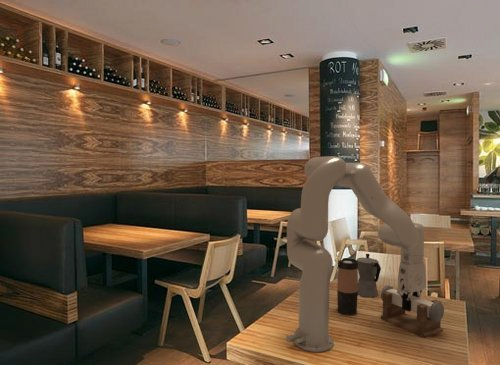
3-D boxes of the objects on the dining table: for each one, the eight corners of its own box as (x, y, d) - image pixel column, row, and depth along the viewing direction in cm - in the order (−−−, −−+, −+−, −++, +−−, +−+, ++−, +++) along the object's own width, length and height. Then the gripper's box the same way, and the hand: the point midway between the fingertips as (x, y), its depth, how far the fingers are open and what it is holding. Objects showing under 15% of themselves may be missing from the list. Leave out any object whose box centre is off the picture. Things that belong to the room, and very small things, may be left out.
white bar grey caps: (443, 320, 127) (444, 301, 126) (432, 324, 123) (432, 304, 123) (392, 300, 144) (392, 284, 144) (380, 303, 141) (381, 287, 141)
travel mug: (358, 316, 141) (359, 263, 140) (337, 314, 143) (338, 262, 142) (356, 308, 149) (357, 258, 148) (336, 307, 150) (337, 257, 149)
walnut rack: (443, 330, 129) (443, 302, 129) (424, 337, 124) (425, 308, 123) (398, 313, 144) (399, 287, 144) (380, 318, 139) (380, 292, 139)
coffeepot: (349, 290, 171) (350, 251, 170) (367, 288, 173) (367, 249, 172) (369, 302, 156) (370, 259, 155) (388, 299, 159) (389, 257, 158)
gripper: (405, 263, 125) (404, 317, 126) (436, 257, 134) (434, 307, 135) (387, 258, 132) (386, 310, 133) (417, 253, 140) (416, 301, 141)
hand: (410, 308), depth 134 cm, fingers closed on white bar grey caps, 4 cm apart
